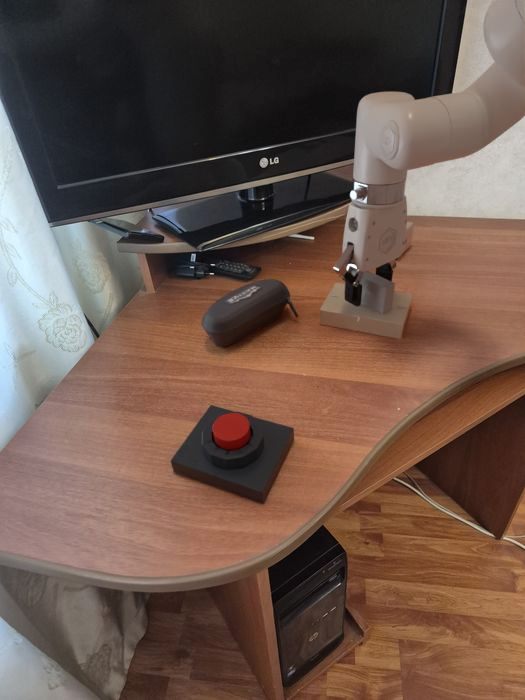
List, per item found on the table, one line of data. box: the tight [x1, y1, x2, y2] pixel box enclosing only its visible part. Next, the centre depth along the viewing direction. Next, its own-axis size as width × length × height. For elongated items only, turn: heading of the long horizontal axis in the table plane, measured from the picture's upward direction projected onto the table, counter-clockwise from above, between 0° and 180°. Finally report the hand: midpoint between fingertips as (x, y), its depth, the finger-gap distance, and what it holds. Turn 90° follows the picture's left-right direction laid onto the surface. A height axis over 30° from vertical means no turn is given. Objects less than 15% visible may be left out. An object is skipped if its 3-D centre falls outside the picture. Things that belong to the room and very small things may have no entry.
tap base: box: [318, 282, 414, 340], centre depth 77 cm, size 14×13×3 cm
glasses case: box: [201, 278, 299, 348], centre depth 75 cm, size 18×10×8 cm, turn 135°
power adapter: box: [403, 220, 414, 253], centre depth 94 cm, size 11×5×6 cm, turn 143°
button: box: [213, 413, 251, 450], centre depth 52 cm, size 4×4×2 cm
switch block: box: [170, 404, 295, 504], centre depth 54 cm, size 12×10×4 cm
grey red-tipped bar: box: [344, 268, 396, 314], centre depth 74 cm, size 9×2×5 cm, turn 36°
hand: (367, 294), depth 75 cm, fingers open, 6 cm apart
